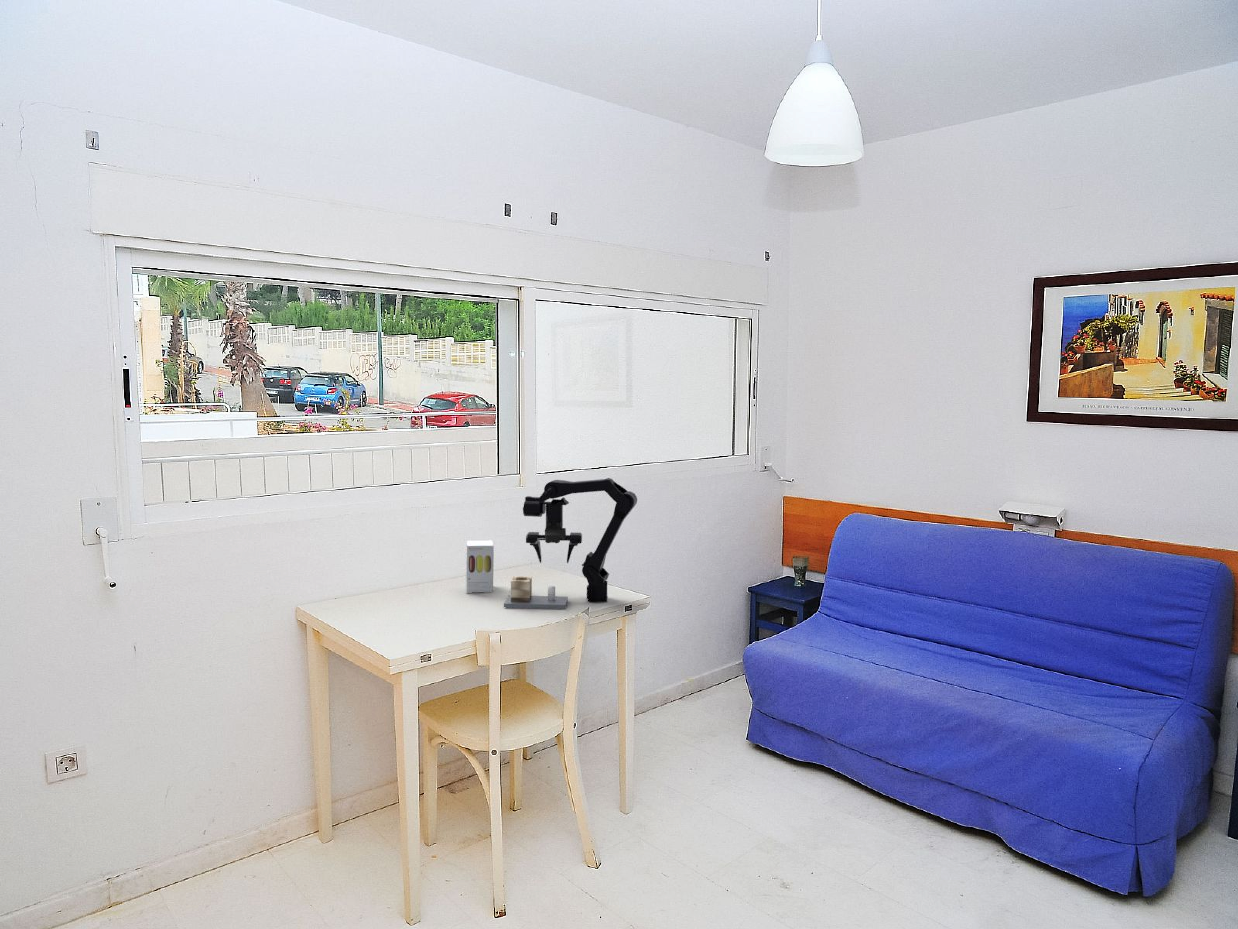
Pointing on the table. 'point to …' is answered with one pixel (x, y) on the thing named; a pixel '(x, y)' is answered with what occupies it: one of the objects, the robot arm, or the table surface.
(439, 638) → the table surface
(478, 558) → the supplement box
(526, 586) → the sleeve
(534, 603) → the pin board
